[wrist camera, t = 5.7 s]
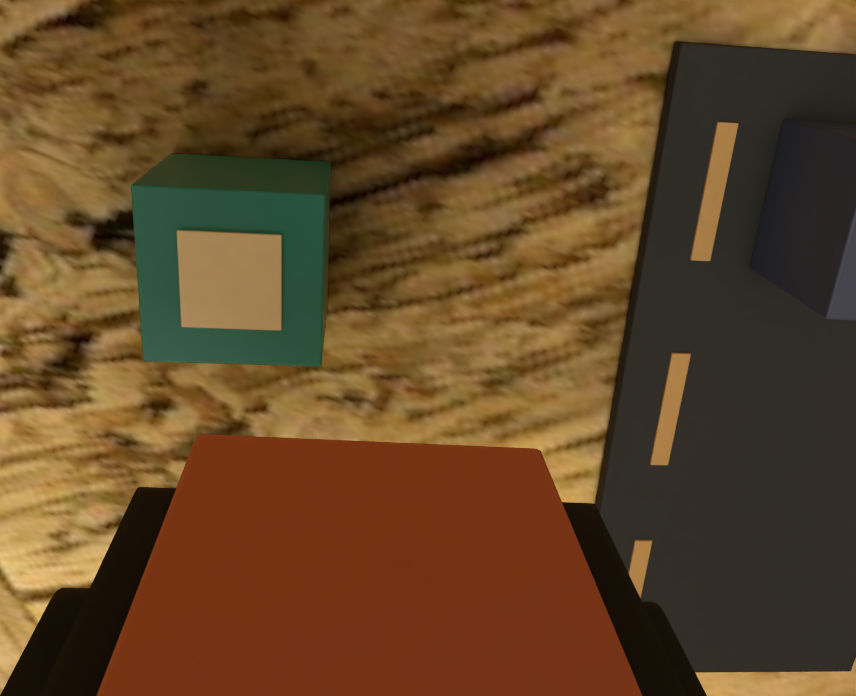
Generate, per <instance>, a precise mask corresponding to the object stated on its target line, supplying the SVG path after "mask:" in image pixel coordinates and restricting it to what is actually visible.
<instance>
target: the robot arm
mask: <svg viewBox="0 0 856 696" xmlns="http://www.w3.org/2000/svg"><path fill="white" fill-rule="evenodd" d="M175 490H176V488H151V487H139V488H137V490H136V491H135V493H134V495H133V497H132V500H131V502H130V504H129V506H128V508H127V510H126V512H125V514H124V517H123V519H122V521H121V523H120V525H119V527H118V529H117V532H116V534H115V536H114V538H113V540H112V542H111V544H110V546H109V549H108V551H107V553H106V555H105V557H104V559H103V561H102V564H101V566H100V568H99V570H98V572H97V574H96V576H95V579H94V581H93V583H92V585H91V587H90V588H61V589H59V590H58V591H56V593H55V594H54V596H53V597H52V598H51V600H50V602H49V604H48V606H47V608H46V609H45V611H44V613H43V615H42V617H41V619H40V621H39V623H38V625H37V627H36V628H35V630H34V632H33V634H32V636H31V638H30V640H29V642H28V644H27V646H26V647H25V649H24V651H23V653H22V655H21V657H20V659H19V661H18V663H17V665H16V666H15V668H14V670H13V672H12V674H11V676H10V678H9V680H8V682H7V684H6V685H5V687H4V689H3V691H2V693H1V695H0V696H97V693H98V691H99V688H100V685H101V683H102V680H103V678H104V675H105V672H106V670H107V667H108V665H109V662H110V659H111V657H112V654H113V652H114V649H115V646H116V644H117V641H118V639H119V636H120V633H121V631H122V628H123V626H124V623H125V620H126V618H127V615H128V613H129V610H130V607H131V605H132V602H133V600H134V597H135V594H136V592H137V589H138V587H139V584H140V581H141V579H142V576H143V574H144V571H145V568H146V566H147V563H148V561H149V558H150V555H151V553H152V550H153V548H154V545H155V542H156V540H157V537H158V535H159V532H160V529H161V527H162V524H163V522H164V519H165V516H166V514H167V511H168V509H169V506H170V503H171V501H172V498H173V496H174V493H175ZM562 504H563V506H564V509H565V511H566V513H567V516H568V518H569V521H570V523H571V525H572V528H573V530H574V533H575V535H576V537H577V540H578V542H579V545H580V547H581V549H582V552H583V554H584V557H585V559H586V562H587V564H588V566H589V569H590V571H591V574H592V576H593V578H594V581H595V583H596V586H597V588H598V590H599V593H600V595H601V598H602V600H603V602H604V605H605V607H606V610H607V612H608V614H609V617H610V619H611V622H612V624H613V627H614V629H615V631H616V634H617V636H618V639H619V641H620V643H621V646H622V648H623V651H624V653H625V655H626V658H627V660H628V663H629V665H630V667H631V670H632V672H633V675H634V677H635V679H636V682H637V684H638V687H639V689H640V691H641V694H642V696H707V695H706V693H705V691H704V689H703V687H702V686H701V684H700V682H699V680H698V678H697V676H696V674H695V672H694V670H693V668H692V666H691V664H690V662H689V660H688V658H687V656H686V654H685V652H684V650H683V648H682V646H681V644H680V642H679V640H678V638H677V636H676V634H675V632H674V630H673V629H672V627H671V625H670V623H669V621H668V619H667V617H666V615H665V613H664V611H663V610H662V609H661V607H660V606H659V605H658V604H657V603H655V602H649V601H641V598H640V596H639V594H638V592H637V590H636V588H635V586H634V584H633V582H632V580H631V578H630V576H629V573H628V571H627V569H626V567H625V565H624V563H623V561H622V559H621V557H620V555H619V553H618V551H617V548H616V546H615V544H614V542H613V540H612V538H611V536H610V534H609V532H608V530H607V528H606V526H605V523H604V521H603V519H602V517H601V515H600V513H599V511H598V509H597V507H596V506H595V504H592V503H566V502H562Z"/></svg>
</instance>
